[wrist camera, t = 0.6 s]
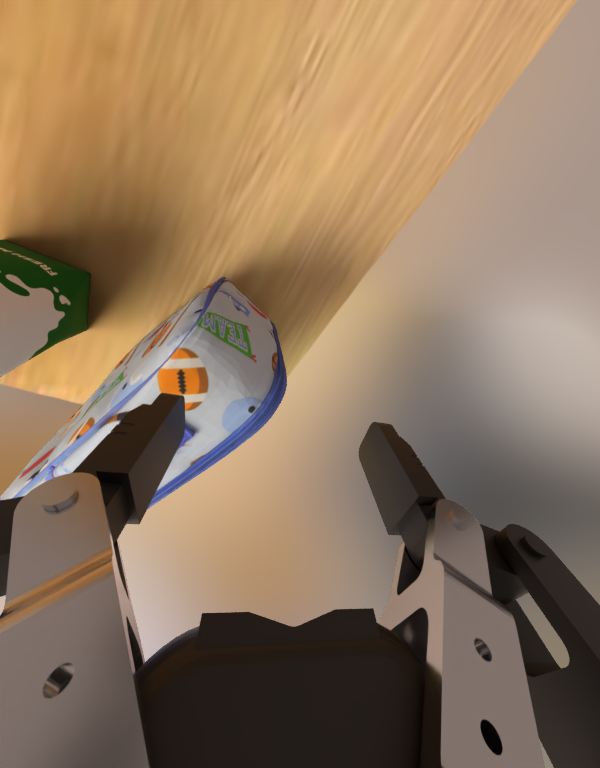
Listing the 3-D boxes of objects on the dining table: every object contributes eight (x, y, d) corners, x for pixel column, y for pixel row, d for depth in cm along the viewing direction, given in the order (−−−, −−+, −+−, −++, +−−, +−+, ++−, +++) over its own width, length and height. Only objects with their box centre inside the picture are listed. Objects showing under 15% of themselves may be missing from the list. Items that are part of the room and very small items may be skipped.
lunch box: (158, 427, 38) (81, 600, 20) (89, 393, 32) (-100, 591, 15) (280, 319, 32) (324, 430, 14) (222, 254, 26) (176, 304, 9)
